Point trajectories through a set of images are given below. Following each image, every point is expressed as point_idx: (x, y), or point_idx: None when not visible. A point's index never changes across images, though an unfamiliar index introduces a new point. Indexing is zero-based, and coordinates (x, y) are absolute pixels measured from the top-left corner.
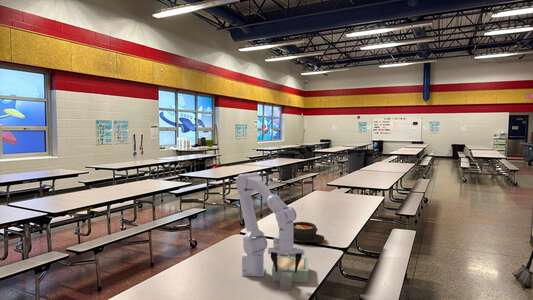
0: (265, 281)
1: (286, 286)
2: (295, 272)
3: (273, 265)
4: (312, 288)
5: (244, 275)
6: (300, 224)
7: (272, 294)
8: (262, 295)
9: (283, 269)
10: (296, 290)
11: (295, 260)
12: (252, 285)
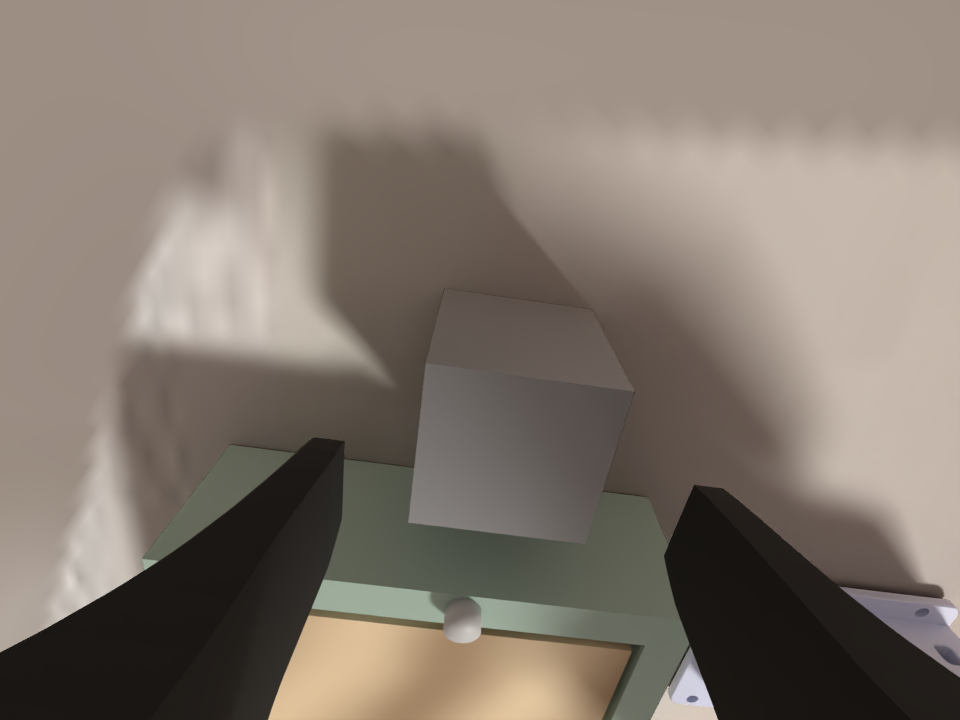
0: (727, 489)
1: (510, 313)
2: (328, 444)
3: (651, 701)
4: (167, 312)
5: (928, 599)
6: None
7: (728, 172)
8: (882, 147)
9: (529, 608)
10: (377, 270)
11: (145, 716)
12: (913, 413)
